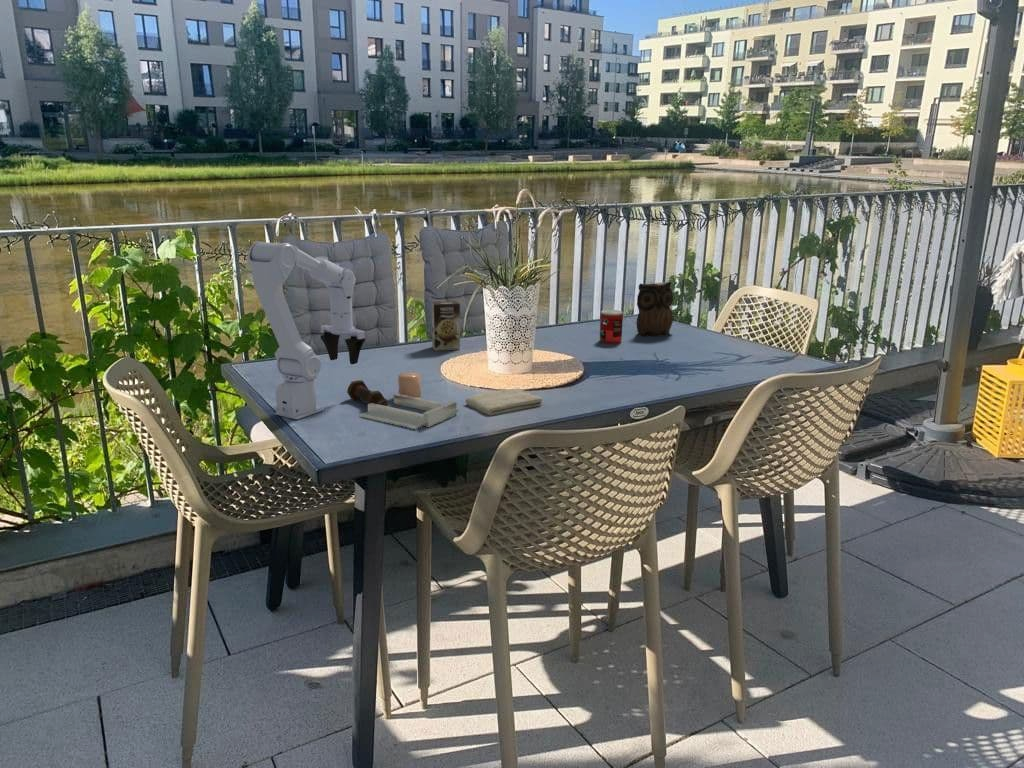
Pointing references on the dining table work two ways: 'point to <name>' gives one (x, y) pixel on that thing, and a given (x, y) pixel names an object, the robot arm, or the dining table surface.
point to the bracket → (411, 419)
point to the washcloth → (503, 401)
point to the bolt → (365, 393)
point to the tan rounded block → (409, 384)
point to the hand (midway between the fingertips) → (343, 361)
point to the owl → (654, 309)
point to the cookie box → (446, 325)
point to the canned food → (611, 326)
